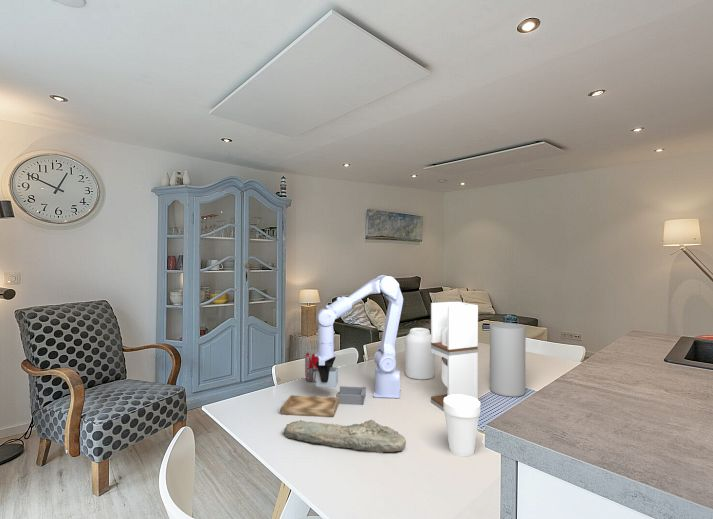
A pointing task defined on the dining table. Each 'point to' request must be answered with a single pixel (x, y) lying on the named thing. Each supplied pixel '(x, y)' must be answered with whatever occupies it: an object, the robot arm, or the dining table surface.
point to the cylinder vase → (507, 359)
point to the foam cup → (461, 423)
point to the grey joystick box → (331, 380)
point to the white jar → (419, 354)
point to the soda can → (311, 363)
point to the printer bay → (352, 395)
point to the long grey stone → (348, 435)
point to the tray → (310, 406)
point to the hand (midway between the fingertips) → (326, 379)
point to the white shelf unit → (456, 347)
